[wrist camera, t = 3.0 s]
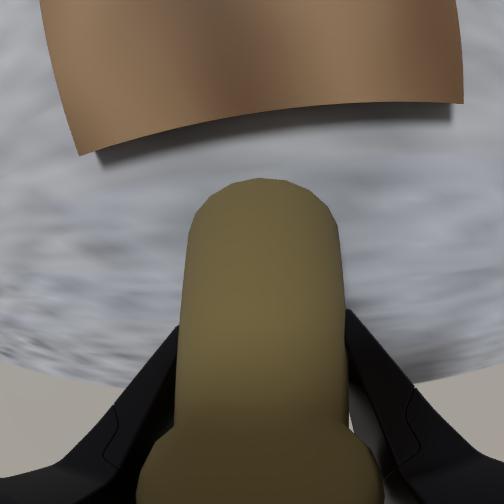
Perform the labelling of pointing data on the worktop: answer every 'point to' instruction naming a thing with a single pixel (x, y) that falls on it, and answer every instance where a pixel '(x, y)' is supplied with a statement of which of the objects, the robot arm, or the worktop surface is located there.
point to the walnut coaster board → (241, 59)
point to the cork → (262, 361)
